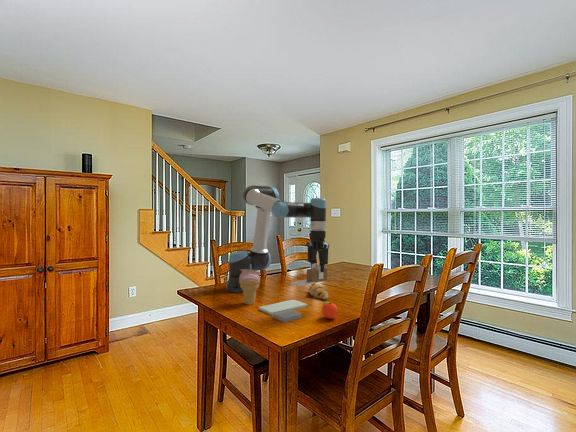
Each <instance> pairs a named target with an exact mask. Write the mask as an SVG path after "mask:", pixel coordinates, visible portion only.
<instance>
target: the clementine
mask: <svg viewBox="0 0 576 432" xmlns="http://www.w3.org/2000/svg"><path fill="white" fill-rule="evenodd" d="M321 313H322V315H323V316H324V317H325V318H326V319H329V320H330V319H334V318H335V317H336V316H337V315H338V307H337V305H336V304H335V303H333V302H330V301H326V302H324V303H323V305H322V307H321Z"/></svg>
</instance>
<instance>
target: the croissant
mask: <svg viewBox="0 0 576 432" xmlns="http://www.w3.org/2000/svg"><path fill="white" fill-rule="evenodd" d="M308 290H309V291H308V292H309V295H310V296H311V297H313V298H317V299H319V300H320V299H321V300H323V301H326V300H328V298H329V295H330V294H329V292H328V290H327V288H326V286H324V285H322V284H319V283H317V284H316V283H315V284H312V286H310V287H309V289H308Z"/></svg>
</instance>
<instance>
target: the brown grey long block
mask: <svg viewBox="0 0 576 432" xmlns="http://www.w3.org/2000/svg"><path fill="white" fill-rule="evenodd" d="M327 281H328V268H327V267H324V272H323V279H318V267H317V268H312V269H311V268H306V279H300V280H295V281H290V285H294V286H296V287H297V286H298V287H302V286H308V285H315V284H316V283H320V282H321V283H322V282H327Z"/></svg>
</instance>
